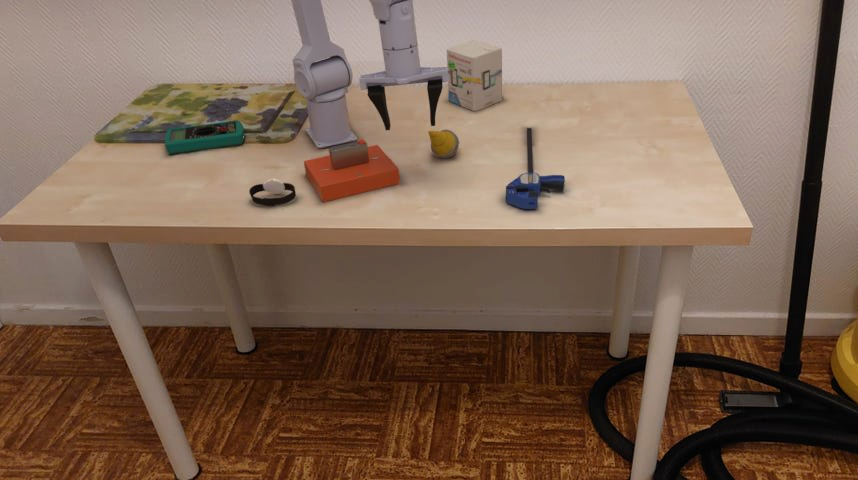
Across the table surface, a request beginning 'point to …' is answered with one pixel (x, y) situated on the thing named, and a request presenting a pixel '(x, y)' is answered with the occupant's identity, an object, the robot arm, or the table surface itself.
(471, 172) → the table surface
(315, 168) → the orange block
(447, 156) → the yellow pointed rounded piece
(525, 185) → the bar clamp
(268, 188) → the watch
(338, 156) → the grey block with button
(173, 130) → the digital multimeter
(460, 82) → the ink box
